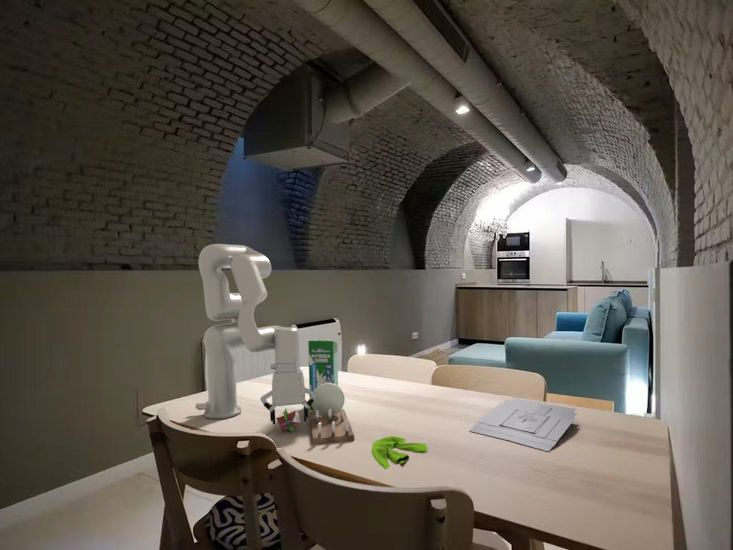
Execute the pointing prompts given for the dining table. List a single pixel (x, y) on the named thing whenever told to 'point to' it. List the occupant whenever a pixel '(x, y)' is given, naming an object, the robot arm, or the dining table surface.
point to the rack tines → (332, 422)
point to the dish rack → (330, 429)
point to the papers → (527, 422)
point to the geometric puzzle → (288, 420)
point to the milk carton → (322, 363)
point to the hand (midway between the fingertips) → (289, 421)
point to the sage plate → (328, 399)
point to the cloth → (383, 452)
